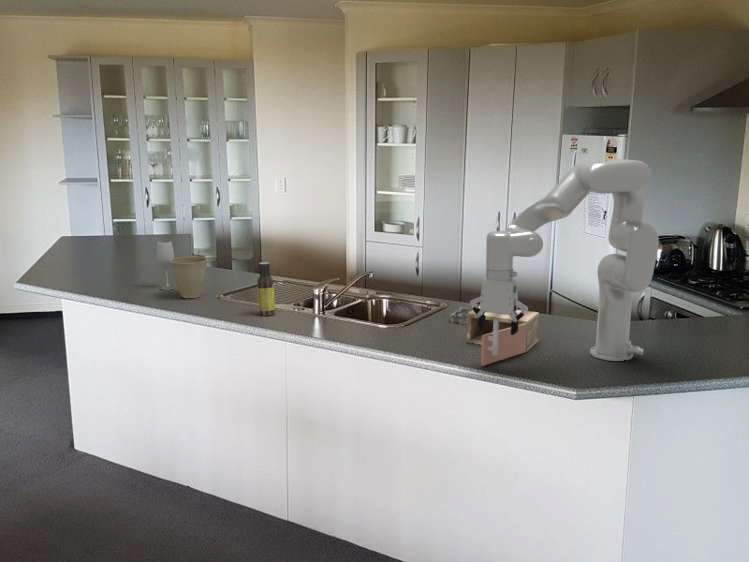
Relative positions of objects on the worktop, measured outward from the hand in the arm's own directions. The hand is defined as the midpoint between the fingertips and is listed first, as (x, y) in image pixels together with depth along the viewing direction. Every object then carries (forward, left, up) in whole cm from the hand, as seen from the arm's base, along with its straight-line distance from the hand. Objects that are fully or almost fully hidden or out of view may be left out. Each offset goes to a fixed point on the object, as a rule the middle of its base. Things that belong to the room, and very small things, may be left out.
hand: (497, 331), depth 204 cm
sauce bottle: (+97, -14, -11) cm, 99 cm away
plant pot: (+142, -20, -11) cm, 144 cm away
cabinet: (+7, -24, -11) cm, 27 cm away
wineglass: (+162, -26, -11) cm, 164 cm away
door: (-1, -8, -11) cm, 13 cm away
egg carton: (+28, -42, -12) cm, 52 cm away
